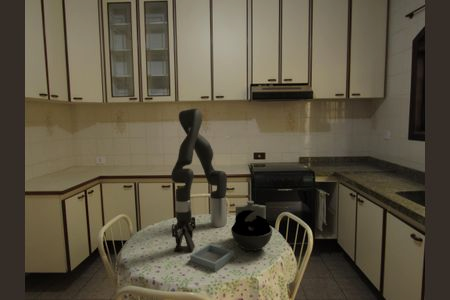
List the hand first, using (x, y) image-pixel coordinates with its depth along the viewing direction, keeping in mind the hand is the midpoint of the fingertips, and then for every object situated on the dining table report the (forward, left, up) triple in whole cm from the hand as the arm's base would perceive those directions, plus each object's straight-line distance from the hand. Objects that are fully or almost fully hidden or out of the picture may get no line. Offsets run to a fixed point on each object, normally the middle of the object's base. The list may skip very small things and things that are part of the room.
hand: (184, 241), depth 136 cm
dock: (+1, +18, -4) cm, 18 cm away
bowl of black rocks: (-19, +27, -4) cm, 33 cm away
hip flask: (-30, +20, -4) cm, 36 cm away
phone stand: (0, 0, -4) cm, 4 cm away
